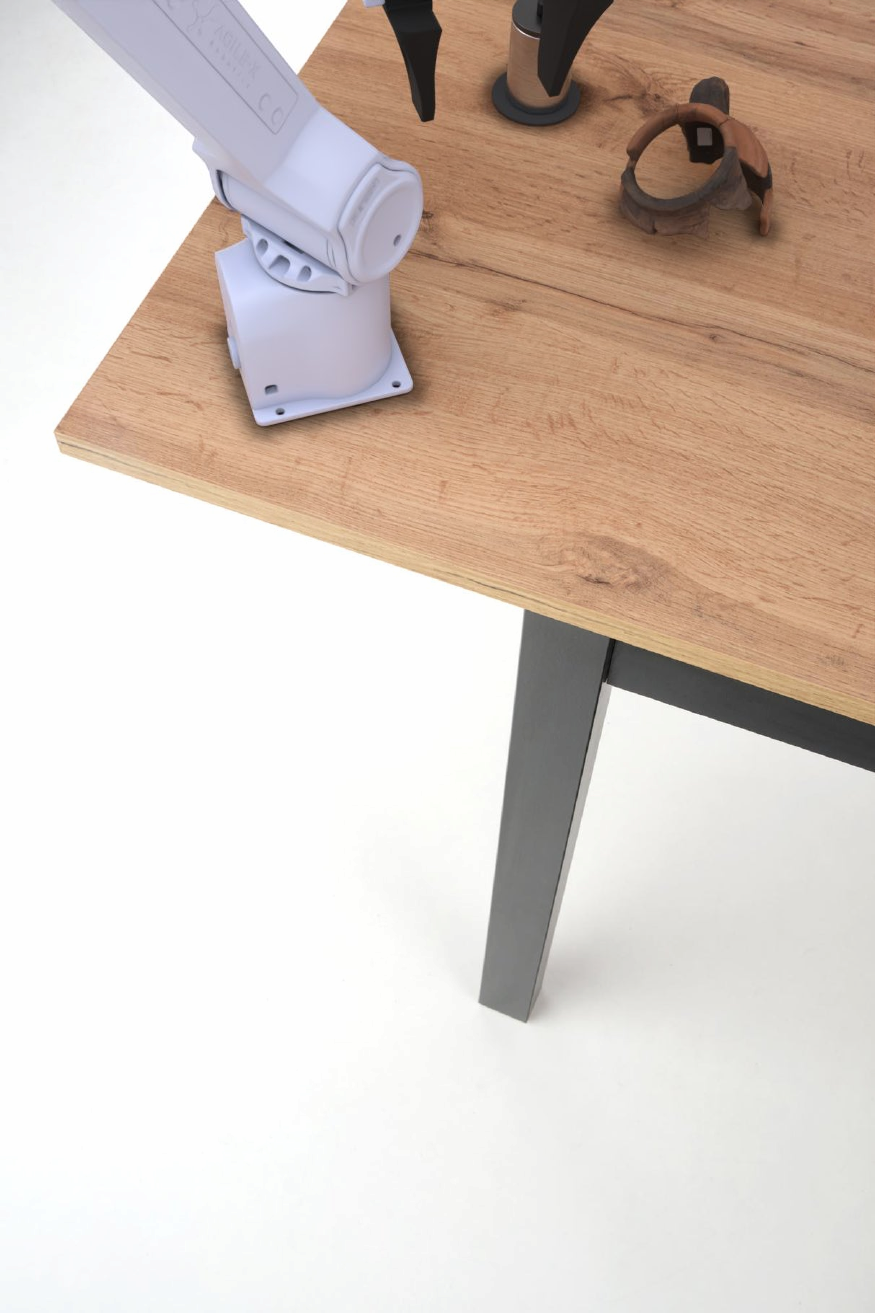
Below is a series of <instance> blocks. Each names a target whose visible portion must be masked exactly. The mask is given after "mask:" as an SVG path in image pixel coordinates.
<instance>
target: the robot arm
mask: <svg viewBox="0 0 875 1313" xmlns="http://www.w3.org/2000/svg"><path fill="white" fill-rule="evenodd" d="M361 1H362V3H363V6H364V7H365V8H366V9H370V8H375V7H382V10H383V11H384V14H385V15H386V17H387V19H388V22H389V24H390V26H391V28H392V31H393V33H394V35H395V38H396V41H397V44H398V46H399V50H400V53H401V55H402V59H403V62H404V65H405V66H404V67H405V70H406V73H407V78H408V84H409V88H410V95H411V102H412V105H413V107H414V109H415V111H416V113H417V116H418V117H419V120H420V122H421V123H427V122H433V121H434V120H435V114H436V66H437V58H438V52H439V48H440V47H439V46H440V41H441V37H442V33H443V28H442V26H441V24H440V22H439V20H438V18H437V16H436V14H435V12H434V10H433V9H434V8H433V7H434V1H433V0H361ZM614 1H615V0H543V14H542V24H541V32H540V40H539V48H538V57H537V76H538V78H539V79H540V81H541V83H542V85H543V87H544V89H545V90H546V92H547V94H548V96H549V97H554V96H559V95H560V93H561V90H562V87H563V85H564V82H565V80H566V77H567V75H568V72H569V70H570V68H571V66H572V63H573V64H574V61H575V58H576V57H577V55H578V53H579V51H580V49H581V47H582V46H583V43H584V41H585V40H586V38H587V37H588V35H589V33H590V32H591V31H592V29H593V28H594V26H595V24H596V23H597V22H598V21H599V20H600V18H601V17H602V16H603V14H604V13H605V12H606V11H607V10H608V9H609V8H610V7H611V5H613V4H614ZM50 2H52V3H53V4H54V5H55V6H56V7H57V8H58V9H59V10H60V11H62V12H63V13H64V14H65V15H66V17H68V18H69V19H70V20H71V21H72V22H73V23H74V24H75V25H76V26H77V27H78V28H80V29H81V30H82V31H83V32H84V34H86V35H87V36H88V37H89V38H90V39H91V40H92V41H93V42H94V44H96V45H97V46H98V47H99V48H100V49H101V50H102V51H104V52H105V53H106V54H107V56H109V57H110V58H111V60H112V61H113V62H115V63H116V64H117V65H118V66H119V67H120V68H121V69H122V70H124V71H125V72H126V73H127V74H128V75H129V76H130V77H131V78H132V79H133V81H135V82H136V83H137V84H138V85H139V86H140V87H141V88H142V89H143V90H144V91H145V92H146V93H147V94H148V95H150V96H151V97H152V98H153V99H154V100H155V101H156V102H157V103H158V104H159V105H160V106H161V107H162V108H163V109H164V110H165V111H166V112H168V114H170V116H171V117H172V118H174V120H176V121H177V122H178V124H180V125H181V126H182V127H183V128H184V129H185V130H186V131H187V132H189V134H191V136H192V137H193V141H192V145H191V150H192V152H193V153H194V154H195V155H197V157H198V158H200V159H201V161H202V162H203V163H204V164H205V166H206V169H207V171H208V174H209V177H210V181H211V186H212V189H213V193H214V195H215V197H216V198H217V199H218V201H219V202H220V204H222V205H223V206H224V207H225V208H227V209H229V210H231V211H233V212H236V213H240V221H241V227H242V233H243V235H245V236H246V237H245V238H244V239H243V238H242V240H240V241H238V242H236V243H233V244H232V245H230V246H228V247H225V248H223V249H220V250H217V251H215V252H214V263H215V268H216V274H217V279H218V284H219V285H218V286H219V290H220V295H221V300H222V304H223V310H224V315H225V321H226V325H227V328H226V329H227V335H228V337H227V338H226V343H227V346H228V347H227V348H228V351H229V354H230V359H231V362H232V365H233V368H234V369H235V370H239V374H240V376H241V379H242V382H243V385H244V389H245V393H246V395H247V399H248V402H249V405H250V409H251V411H252V415H253V417H254V421H255V423H256V424H257V425H258V426H261V427H267V426H272V425H275V424H280V423H284V422H289V421H293V420H298V419H301V418H306V417H310V416H314V415H319V414H323V413H327V412H332V411H335V410H341V409H345V408H348V407H353V406H357V405H361V404H364V403H370V402H374V401H377V400H381V399H386V398H390V397H394V396H398V395H403V394H407V393H410V392H412V390H413V388H414V381H413V379H412V376H411V373H410V370H409V369H408V366H407V363H406V360H405V358H404V356H403V353H402V350H401V348H400V346H399V343H398V341H397V338H396V336H395V333H394V331H393V329H392V328H393V327H392V317H391V316H392V314H391V272H392V271H393V270H394V269H395V268H396V267H397V266H398V265H399V263H400V262H401V261H402V260H403V258H404V257H406V254H407V253H408V251H409V249H410V248H411V246H412V245H413V242H414V240H415V238H416V236H417V233H418V230H419V227H420V225H421V221H422V216H423V212H424V190H423V189H424V187H423V180H422V177H421V175H420V173H419V171H418V170H417V169H416V168H415V167H414V166H413V165H412V164H410V163H408V162H407V161H405V160H399V159H393V158H392V157H390V156H388V155H386V154H385V153H383V152H381V151H379V150H378V149H377V148H376V147H375V146H374V145H373V144H371V143H370V142H369V141H367V139H366V138H364V137H362V136H361V135H360V134H359V133H357V132H356V131H355V130H353V129H352V128H351V127H349V126H348V125H347V124H346V123H344V122H343V121H342V120H340V119H339V118H338V117H336V115H334V114H333V113H331V111H329V110H327V109H326V108H325V107H324V106H323V105H321V103H320V102H319V101H318V100H317V99H316V98H315V96H314V95H313V94H312V92H311V91H310V89H309V88H308V87H307V86H306V85H305V83H304V82H303V81H302V79H300V77H299V76H298V74H297V73H296V72H295V71H294V69H293V68H292V67H291V65H289V63H288V62H287V60H286V59H285V58H284V56H283V55H282V54H281V53H280V52H279V50H278V49H277V48H276V46H275V45H274V44H273V43H272V42H271V40H270V39H269V37H267V35H266V34H265V32H264V31H263V30H262V29H261V28H260V26H259V25H258V24H257V23H256V21H255V20H254V18H252V16H251V15H250V13H249V12H248V11H247V10H246V8H245V7H244V6H243V5H242V4H241V2H240V0H50ZM395 386H398V387H395ZM280 413H281V414H280Z"/></svg>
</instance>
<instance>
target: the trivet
mask: <svg viewBox="0 0 875 1313" xmlns="http://www.w3.org/2000/svg"><path fill="white" fill-rule="evenodd" d="M506 81H507V71H505V72H504V73H502V74H500V76H498V77H497V79H495V81H494V82H493V85H492V88H491V100H492V103H493V105H494V107H495V109H496V110H497V111H498V112H499V113H500V114H501V115H502V116H504V117H505V118H506V119H508V120H510V121H513V122H515V123H518V124H521V125H525V126H530V127H531V126H532V127H547V126H554V125H557V124H559V123H562V122H564V121H567V119H570V118H571V117H572V116H573V115H574V114H575V113H576V111H577V110H578V108H579V106H580V103H581V91H580V88H579V86H578V85H577V83H576V81H575V80H574V79H573V78H571V82H570V90H569V97H568V100H567V102H566V104H565V105H564V106H563V107H562V108H560V109H559V110H557V111H555V112H552V113H548V114H530V113H526V112H523V111H521V110H519V109H517V108H515V107H514V106H513V105H512V104H511V103H510V102H509V101H508V99H507V96H506Z"/></svg>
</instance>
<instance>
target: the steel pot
mask: <svg viewBox="0 0 875 1313" xmlns="http://www.w3.org/2000/svg"><path fill="white" fill-rule="evenodd" d="M542 14H543V0H516V1H515V2H514V3H513V6H512V8H511V20H510V21H511V22H510V34H509V44H508V56H507V57H508V58H507V71H506V72H507V81H506V96H507V99H508V101H509V102H510V103H511V104H512V105H513V106H514V107H515V108H517V109H519V110H521V111H523V112H526V113H530V114H548V113H552V112H555V111H557V110H559V109H560V108H562V107H563V106H564V105H565V104H566V102H567V100H568V97H569V90H570V82H571V79H572V75H573V74H572V73H573V67H574V62H573V63H572V66H571V68H570V70H569V72H568V75H567V77H566V80H565V82H564V85H563V87H562V90H561V93H560V95H559V96H554V97H549V96H548V94H547V92H546V90H545V89H544V87H543V85H542V83H541V81H540V79H539V78H538V76H537V57H538V48H539V40H540V32H541V24H542Z"/></svg>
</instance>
